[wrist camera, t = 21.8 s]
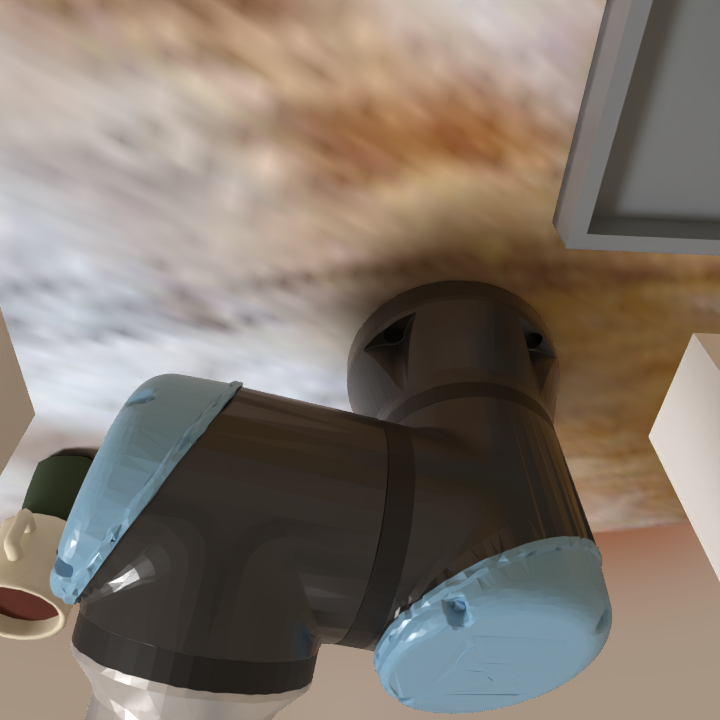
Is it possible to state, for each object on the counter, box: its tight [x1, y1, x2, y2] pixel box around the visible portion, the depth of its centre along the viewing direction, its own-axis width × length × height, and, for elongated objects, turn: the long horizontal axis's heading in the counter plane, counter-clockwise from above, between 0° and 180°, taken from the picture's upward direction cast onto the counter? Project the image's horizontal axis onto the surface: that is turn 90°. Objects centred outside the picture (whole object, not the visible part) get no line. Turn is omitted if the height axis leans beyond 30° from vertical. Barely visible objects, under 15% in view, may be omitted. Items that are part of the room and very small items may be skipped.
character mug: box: [0, 455, 93, 640], centre depth 51 cm, size 11×7×13 cm, turn 174°
